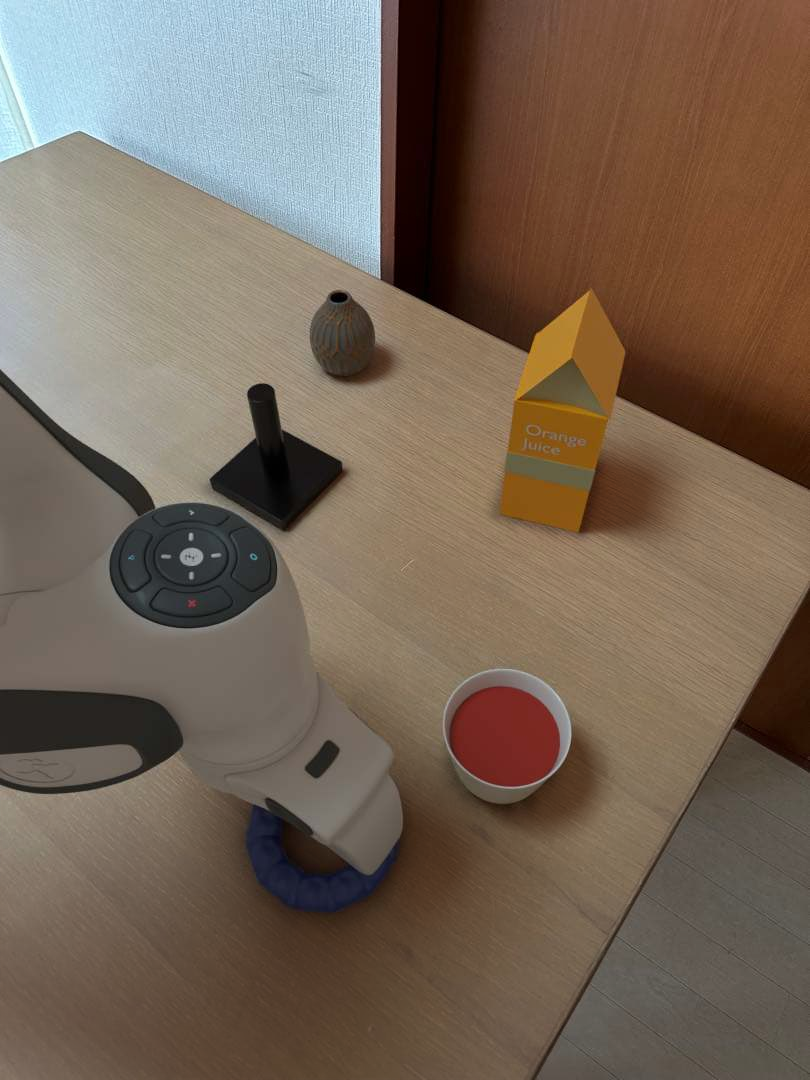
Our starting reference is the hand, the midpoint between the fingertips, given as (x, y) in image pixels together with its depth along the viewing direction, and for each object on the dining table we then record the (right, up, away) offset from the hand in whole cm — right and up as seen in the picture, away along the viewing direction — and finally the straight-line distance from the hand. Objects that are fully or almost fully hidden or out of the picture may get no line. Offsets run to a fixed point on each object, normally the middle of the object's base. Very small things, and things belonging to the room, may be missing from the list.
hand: (277, 795), depth 60 cm
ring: (+3, -2, -1) cm, 4 cm away
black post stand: (-3, +24, +20) cm, 32 cm away
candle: (+16, +2, +3) cm, 17 cm away
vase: (+3, +38, +30) cm, 48 cm away
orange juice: (+23, +23, +19) cm, 38 cm away
